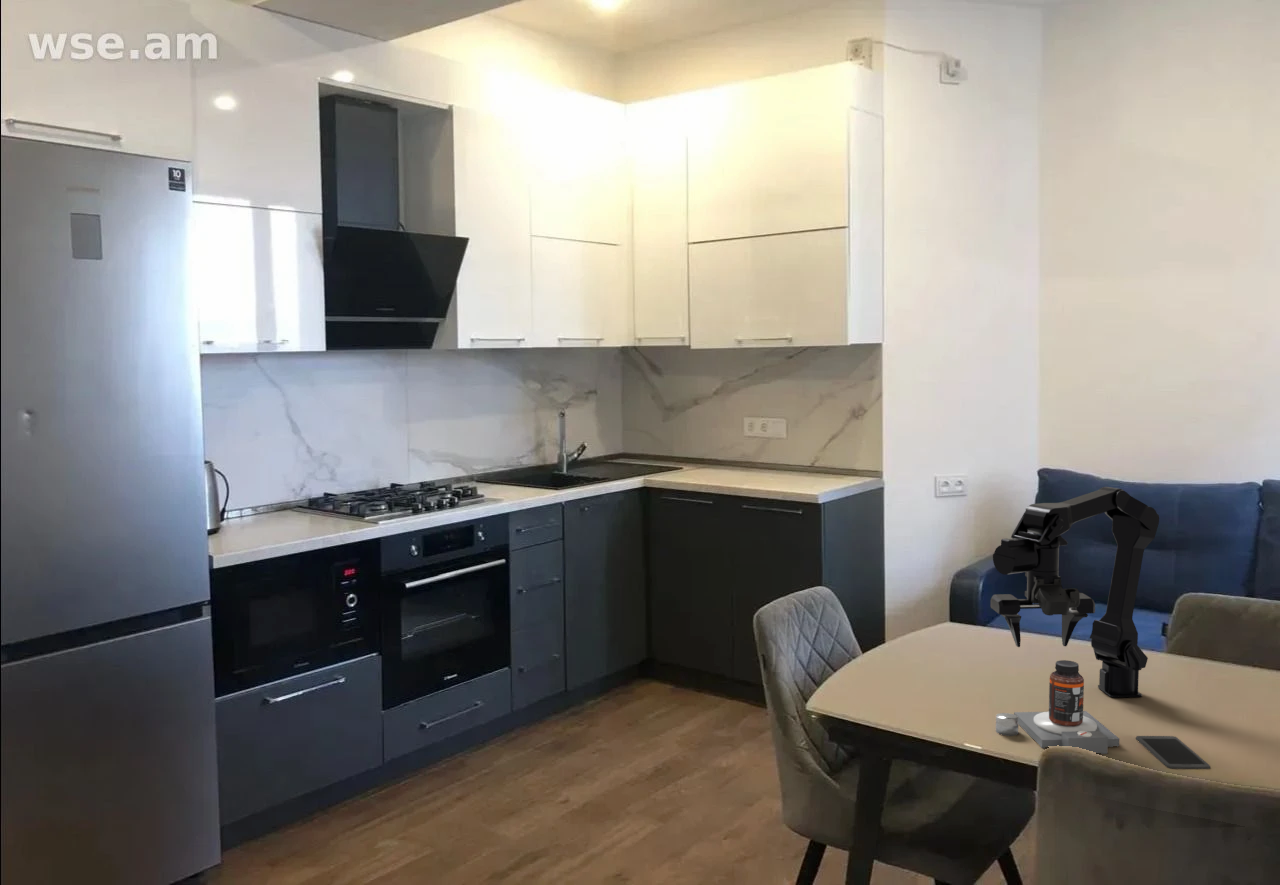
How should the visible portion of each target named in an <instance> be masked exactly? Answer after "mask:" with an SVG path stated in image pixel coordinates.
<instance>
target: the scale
mask: <svg viewBox="0 0 1280 885" xmlns="http://www.w3.org/2000/svg"><path fill="white" fill-rule="evenodd" d="M1013 714H1014V715H1016V716H1018V726H1020V727H1021V729H1022V730H1024V731H1025V733H1026V734H1028V736H1029V737H1030V738H1032V740H1033V739H1034V740H1035V741H1036V742H1037V743H1038V744H1039V745H1040V746H1039V747H1040V748H1041V749H1046V748H1045V747H1048V746H1057V745H1059V746H1072V747H1079V748H1082V749H1086V750H1089V751H1093V752H1096V753H1101V754H1102V755H1105V754H1106V755H1108V749H1109V747H1111V748H1113V746H1117V747H1118V746H1119V747H1120V738H1119V737H1118V736H1117V735H1116V734H1115V733H1114V732H1112V731H1111V730H1110V729H1109V728H1107V727H1106V726H1105V724H1104V725H1103V723H1102V722H1100V721H1099V720H1098V719H1096V718H1095V717H1094V716H1093V715H1092V714H1091V713H1089V712H1088V711H1087V710H1083V722H1082V723H1081V724H1080V725H1078V726H1063V725H1058V724H1055V723H1054V722H1052V721H1051V720H1050V719H1049V711H1014V712H1013ZM1035 741H1034V742H1035ZM1036 742H1035V743H1036ZM1037 743H1036V744H1037ZM1038 744H1037V745H1038ZM1117 747H1116V748H1117ZM1119 747H1118V748H1119ZM1101 754H1100V755H1101Z"/></svg>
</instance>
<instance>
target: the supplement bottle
mask: <svg viewBox="0 0 1280 885" xmlns="http://www.w3.org/2000/svg"><path fill="white" fill-rule="evenodd" d="M1054 669H1055V671H1052V672H1051V673H1050V675H1049V687H1048V688H1049V689H1048V691H1049V692H1048V693H1049V694H1048V712H1049V719H1050V720H1051V721H1052V722H1054V723H1055V724H1058V725H1063V726H1078V725H1080V724H1081V723H1082V722H1083V711H1084V694H1085V692H1084V690H1085V689H1084V688H1085V678H1084V677H1083V675H1082V674H1080V672H1079V671H1080V669H1079V663H1078V662H1076V661H1072V660H1066V659H1065V660H1064V659H1061V660H1060V659H1059V660H1057V661H1056V662H1055V666H1054Z"/></svg>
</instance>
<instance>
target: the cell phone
mask: <svg viewBox="0 0 1280 885" xmlns="http://www.w3.org/2000/svg"><path fill="white" fill-rule="evenodd" d="M1135 740H1136V741H1137V740H1138V741H1139V742H1138V741H1137V742H1138V743H1139V744H1141V745H1142V746H1143V747H1144V748H1145V749H1146V750H1148V752H1149V751H1150V752H1149V753H1151V755H1153V757H1155V758H1156V759H1157V761H1159V762H1160V763H1161V764H1162V765H1163V766H1164V767H1166V768H1167V769H1171V770H1210V769H1211V765H1210V764H1209V763H1208V762H1207V761H1205V760H1204V759H1203V758H1202V757H1200V756H1199V755H1198V754H1197V753H1196V752H1195V751H1194V750H1192V749H1191V748H1190V747H1189V746H1187V745H1186V743H1184V742H1183V741H1182V740H1181V739H1180V738H1178V737H1177V736H1175V735H1174V736H1173V735H1136V736H1135Z"/></svg>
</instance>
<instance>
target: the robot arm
mask: <svg viewBox="0 0 1280 885" xmlns="http://www.w3.org/2000/svg"><path fill="white" fill-rule="evenodd" d="M1103 513H1104V514H1105V515H1106V516H1107V517H1108V518H1109V519H1110V520H1111V521H1112V523H1111V525H1112V526H1111V532H1112V534H1113V536H1114V539H1115V542H1116V544H1117V547H1116V553H1115V557H1114V558H1115V559H1114V566H1113V570H1112V576H1111V583H1110V587H1109V594H1108V598H1107V603H1106V609H1105V610H1106V611H1105V614H1103V616H1102V617H1101V618H1100V619H1094V620H1093V622H1092V630H1091V633H1090V635H1089V640H1090V639H1091V640H1090V645H1091V646H1090V647H1091V648H1092V649H1093V653H1094V657H1095V659H1096V660H1097V661H1100V662H1101V668H1100V669H1099V682H1098V683H1099V684H1098V685H1097V688H1098V689H1099V690H1101V691H1102V692H1103V693H1104V694H1106V695H1107V696H1108V697H1110V698H1142V697H1143V694H1142V693H1141V692H1140V691H1139V677H1140V676H1139V675H1140V673H1139V672H1140V671H1142V669H1145V668H1146V666H1147V663H1148V659H1149V658H1148V656H1147V655H1146V654H1145V653H1144V651H1143V650H1142V649H1141V648H1140V647H1139V645H1138V640H1139V633H1138V631H1137V627H1136V624H1135V623H1134V619H1133V616H1134V611H1135V604H1136V598H1137V594H1138V593H1137V592H1138V586H1139V581H1140V574H1141V570H1142V569H1141V568H1142V563H1143V557H1144V552H1145V549H1146V548H1147V547H1149V545H1150V544H1151V543H1152V541H1154V539H1155V538H1156V534H1157V532H1158V528H1159V524H1160V516H1159V514H1158V513H1157V510H1156V509H1155V508H1154V507H1151V506H1149V505H1147V504H1146V503H1144V502H1143V501H1140V500H1138V499H1137V498H1135V497H1133V496H1131V495H1130V494H1129V493H1128V492H1126V491H1125V490H1124V489H1122V488H1119V487H1111V486H1103V487H1100V488H1099V489H1097V490H1095V491H1092V492H1089V493H1085V494H1082V495H1079V496H1076V497H1073V498H1071V499H1067V500H1064V501H1061V502H1042V503H1040V502H1039V503H1031V504H1030V505H1028V506H1027V507H1026V508H1025V511H1024V512H1023V514H1022V516H1021V517H1020V520H1019V521H1018V523H1017V525H1016V526H1015V529H1014V531H1013V532H1012V534H1011V537H1010V538H1002V539H1001V541H1000V545H998V546H997V547H996V548H995V550H994V552H993V554H992V562H993V565H994V568H995V569H996V571H998V573H1000V574H1001V575H1005V576H1006V575H1013V574H1020V573H1021V574H1022V573H1024V574H1025V575H1024V576H1025V577H1026V582H1027V583H1026V590H1024V597H1026V598H1017V597H1016V596H1014V595H1013V594H1012V593H1010V594H1009V593H1007V594H1004V593H1002V594H1001V593H998V594H996V593H995V594H993V595H992V596H991V598H990V609H992V610H993V611H995V612H996V613H997V614H998V615H1000V616H1002V617H1003V618H1004V620H1005V621H1006V624H1007V626H1008V628H1009V630H1010V633H1011V636H1012V638H1013V641H1014V643H1015V646H1016V647H1018V648H1021V625H1020V622H1021V619H1022V615H1020V614H1019V613H1020V611H1021V609H1023V610H1024V609H1025V610H1027V609H1029V610H1030V609H1031V610H1032V609H1033V610H1034V609H1040V610H1041V612H1042V614H1043V615H1046V616H1054V615H1057V616H1059V615H1061V642H1062V646H1063V647H1067V646H1068V644H1069V642H1070V640H1071V637H1072V634H1073V632H1074V630H1075V628H1076V626H1077V625H1078V623H1079V622H1080V621H1081V620H1082V619H1084V618H1088V616H1089V614H1095V613H1096V603H1095V600H1094V599H1093V598H1091V597H1090V596H1088V595H1087V594H1085V593H1083V592H1080V591H1079V589H1078V588H1076V587H1075V588H1074V587H1072V588H1071V587H1070V588H1069V587H1068V588H1063V585H1062V577H1061V575H1060V576H1059V572H1060V571H1059V566H1060V565H1059V563H1060V562H1059V561H1060V547H1064V546H1067V545H1068V543H1069V542H1068V541H1067V540H1066V539H1065V538H1064V537H1063V536H1062V535H1063V534H1065V533H1066V532H1067V531H1069V530H1070V529H1071V528H1072V525H1074V524H1075V523H1077V522H1081V521H1083V520H1086V519H1090V518H1091V517H1095V516H1098V515H1100V514H1103Z"/></svg>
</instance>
